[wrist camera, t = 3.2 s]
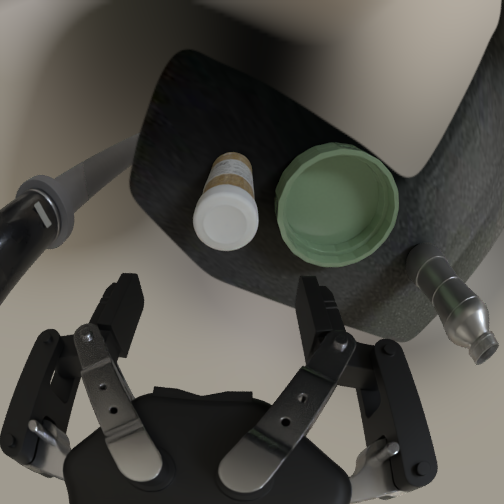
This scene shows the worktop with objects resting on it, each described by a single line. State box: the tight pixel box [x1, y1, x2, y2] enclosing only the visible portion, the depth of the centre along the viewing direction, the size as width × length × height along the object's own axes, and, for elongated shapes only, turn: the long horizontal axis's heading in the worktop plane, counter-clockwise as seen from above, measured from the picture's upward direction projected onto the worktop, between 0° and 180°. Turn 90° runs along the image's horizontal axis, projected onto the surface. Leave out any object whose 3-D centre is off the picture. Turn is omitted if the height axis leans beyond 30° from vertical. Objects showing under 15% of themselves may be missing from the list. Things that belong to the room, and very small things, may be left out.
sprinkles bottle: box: [193, 152, 258, 251], centre depth 24 cm, size 5×5×14 cm
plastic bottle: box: [406, 243, 499, 365], centre depth 29 cm, size 6×7×20 cm
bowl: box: [274, 143, 399, 267], centre depth 31 cm, size 14×14×4 cm
